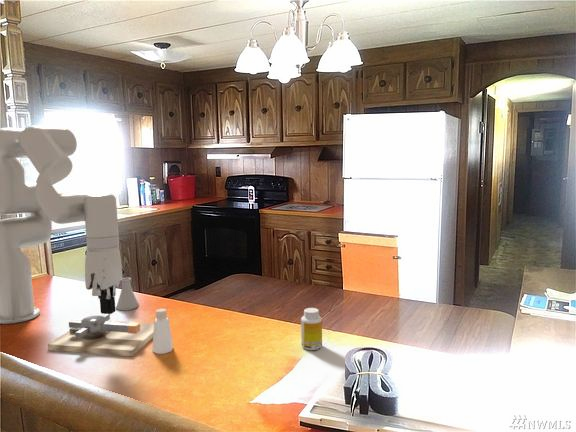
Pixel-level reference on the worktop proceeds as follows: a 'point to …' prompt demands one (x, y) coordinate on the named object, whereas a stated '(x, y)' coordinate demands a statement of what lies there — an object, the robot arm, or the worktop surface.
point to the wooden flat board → (105, 341)
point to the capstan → (101, 327)
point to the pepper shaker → (162, 333)
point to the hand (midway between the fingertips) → (108, 312)
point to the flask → (127, 296)
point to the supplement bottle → (311, 329)
